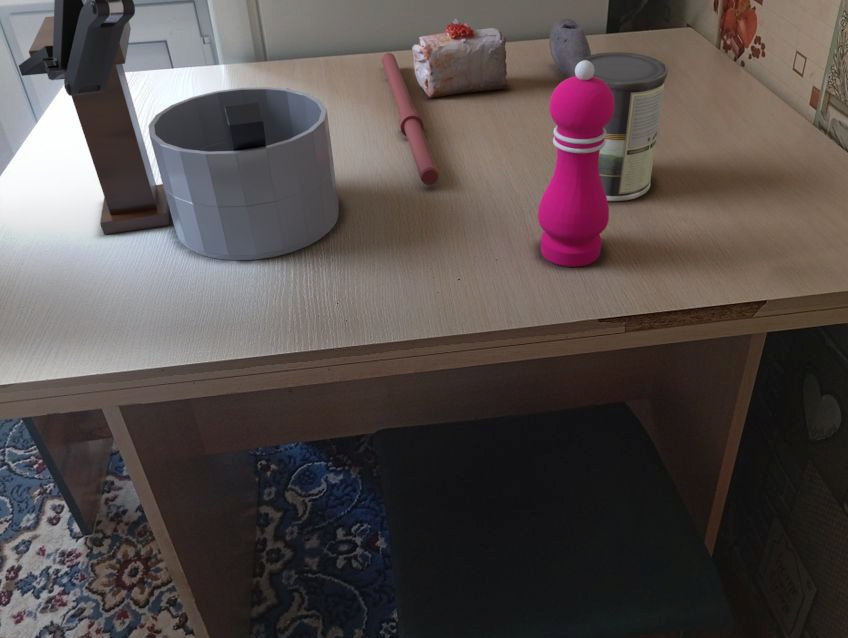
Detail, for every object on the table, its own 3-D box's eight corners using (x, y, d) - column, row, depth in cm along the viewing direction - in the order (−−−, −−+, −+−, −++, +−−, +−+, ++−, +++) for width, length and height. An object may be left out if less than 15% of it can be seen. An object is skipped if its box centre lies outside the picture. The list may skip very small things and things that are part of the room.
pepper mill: (558, 228, 87) (570, 43, 75) (616, 247, 84) (639, 57, 72) (523, 256, 83) (530, 64, 70) (583, 277, 79) (602, 80, 67)
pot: (157, 263, 83) (125, 156, 75) (197, 185, 97) (174, 89, 90) (330, 257, 83) (315, 150, 76) (345, 181, 97) (333, 85, 90)
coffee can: (575, 204, 92) (584, 84, 83) (559, 166, 100) (566, 53, 91) (661, 199, 92) (680, 79, 84) (638, 162, 100) (653, 49, 92)
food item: (423, 102, 118) (420, 34, 112) (412, 84, 124) (408, 19, 118) (510, 92, 121) (511, 26, 115) (494, 75, 127) (495, 11, 121)
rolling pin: (443, 187, 96) (442, 163, 94) (417, 190, 95) (416, 165, 93) (398, 68, 131) (397, 48, 129) (379, 69, 130) (378, 50, 128)
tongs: (223, 105, 74) (228, 125, 73) (257, 101, 75) (263, 121, 74) (242, 215, 88) (246, 233, 87) (271, 210, 89) (275, 228, 88)
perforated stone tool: (597, 90, 121) (601, 43, 117) (564, 92, 121) (566, 45, 117) (576, 59, 133) (580, 16, 129) (546, 60, 133) (548, 17, 128)
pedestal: (104, 199, 94) (44, 16, 82) (173, 190, 96) (125, 9, 83) (97, 248, 85) (28, 51, 72) (173, 237, 87) (119, 42, 74)
